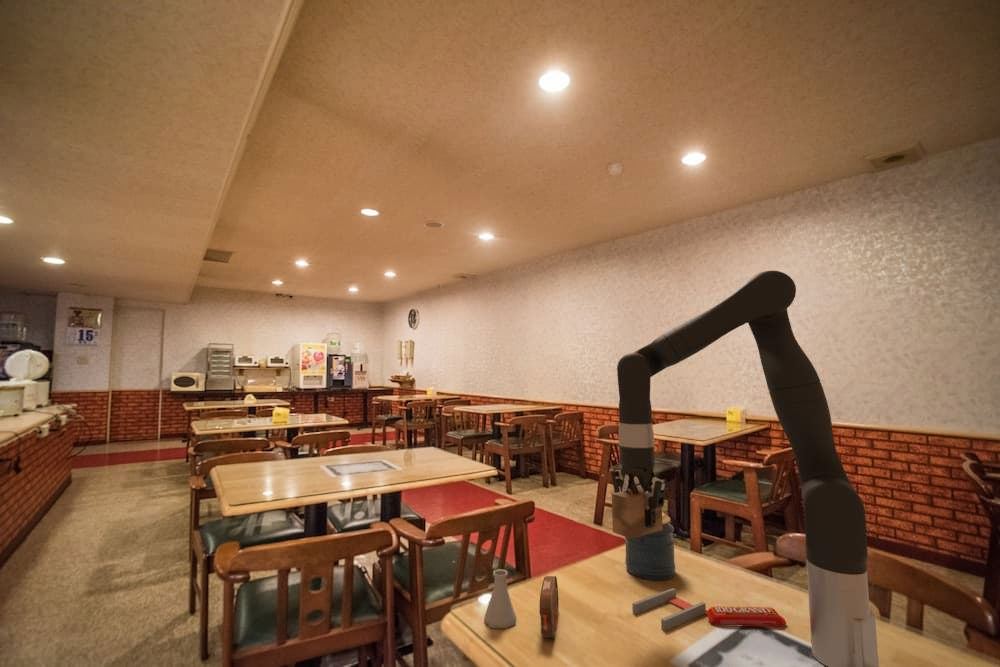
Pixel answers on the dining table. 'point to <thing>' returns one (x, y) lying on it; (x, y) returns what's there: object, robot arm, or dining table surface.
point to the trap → (680, 603)
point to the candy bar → (745, 616)
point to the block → (632, 515)
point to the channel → (674, 618)
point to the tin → (549, 606)
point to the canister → (652, 553)
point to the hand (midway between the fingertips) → (639, 523)
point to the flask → (500, 604)
